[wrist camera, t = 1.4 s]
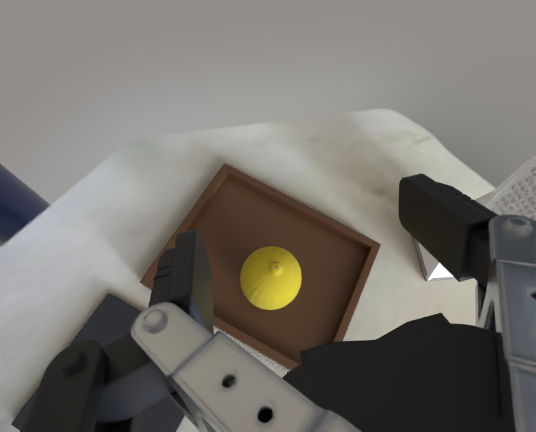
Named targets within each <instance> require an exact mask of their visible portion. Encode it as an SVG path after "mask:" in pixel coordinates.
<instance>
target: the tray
mask: <svg viewBox="0 0 536 432" xmlns="http://www.w3.org/2000/svg"><path fill="white" fill-rule="evenodd" d="M194 229H197V230H198V231H199V234H200V236H201V239H202V242H203V245H204V247H205V250H206V253H207V256H208V258H209V261H210V265H211V269H212V278H213V326H215V327H217V328H218V329H220V330H222V331H223V332H225V333H227V334H229V335H230V336H232V337H234V338H236V339H237V340H239V341H241V342H242V343H244V344H246V345H248V346H249V347H251V348H253V349H254V350H256V351H258V352H260V353H261V354H263V355H265V356H267V357H268V358H270V359H272V360H273V361H275V362H277V363H279V364H280V365H282V366H284V367H285V368H287V369H289V370H292V369H293V368H294V367H296V366H298V365H299V364H301V363H302V361H301V356H300V352H299V351H302V350H306V349H309V348H313V347H317V346H320V345H324V344H328V343H332V342H338V341H343V339H344V337H345V334H346V331H347V329H348V326H349V324H350V321H351V319H352V316H353V314H354V311H355V309H356V306H357V303H358V301H359V298H360V296H361V293H362V291H363V288H364V286H365V283H366V281H367V278H368V275H369V273H370V270H371V268H372V265H373V263H374V260H375V258H376V255H377V253H378V250H379V247H380V244H379V243H377V242H375V241H374V240H372V239H370V238H368V237H366V236H364V235H362V234H360V233H358V232H356V231H354V230H352V229H350V228H348V227H347V226H345V225H343V224H341V223H339V222H337V221H335V220H333V219H331V218H329V217H327V216H325V215H323V214H321V213H320V212H318V211H316V210H314V209H312V208H310V207H308V206H306V205H304V204H302V203H300V202H298V201H296V200H294V199H293V198H291V197H289V196H287V195H285V194H283V193H281V192H279V191H277V190H275V189H273V188H271V187H269V186H267V185H266V184H264V183H262V182H260V181H258V180H256V179H254V178H252V177H250V176H248V175H246V174H244V173H242V172H240V171H239V170H237V169H235V168H233V167H230V166H229V165H227V164H225V163H224V165H223V166H222V168H221V169H220V170H219V172H218V173H217V175H216V176H215V177H214V179H213V180H212V182H211V183H210V184H209V186H208V187H207V189H206V190H205V191H204V193H203V194H202V196H201V197H200V198H199V200H198V201H197V203H196V204H195V205H194V207H193V208H192V210H191V211H190V212H189V214H188V215H187V217H186V218H185V219H184V221H183V222H182V224H181V225H180V226H179V228H178V229H177V231H176V232H175V234H174V235H173V236H172V238H171V239H170V241H169V242H168V243H167V245H166V246H165V248H164V249H163V250H162V252H161V253H160V255H159V256H158V257H157V259H156V260H155V262H154V263H153V264H152V266H151V267H150V269H149V270H148V271H147V273H146V274H145V276H144V277H143V278H142V280H141V281H140V283H142V284H143V285H144V286H146V287H148V288H149V289H151V290H152V288H153V284H154V280H155V275H156V271H157V266H158V261H159V259H160V257H161V256H162V255H163V253H164V252H165V251H166V250H167V249H171V248H175V242H176V236H177V234H178V233H182V232H186V231H190V230H194ZM268 246H276V247H280V248H283V249H285V250H287V251H289V252H290V253H291V254H292V255H293V256H294V257H295V259H296V260H297V262H298V263H299V266H300V269H301V276H302V280H301V286H300V289H299V291H298V294H297V295H296V296H295V298H294V299H293V300H292V301H291V302H290V303H289V304H287V305H286V306H284V307H282V308H279V309H274V310H266V309H261V308H259V307H256V306H255V305H253V304H252V303H251V302H249V300H248V299H247V298H246V297H245V295H244V293H243V291H242V288H241V283H240V275H241V270H242V267H243V264H244V262H245V261H246V260H247V258H248V257H249V256H250V255H251V254H252V253H253V252H255V251H256V250H258V249H260V248H263V247H268Z"/></svg>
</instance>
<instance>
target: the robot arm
mask: <svg viewBox="0 0 536 432" xmlns="http://www.w3.org/2000/svg"><path fill="white" fill-rule="evenodd" d="M399 219H400V222H401V224H402V226H403V227H404V228H405V229H406V230H407V231H408V232H409V233H410V234H411V235H412V236H413V237H414V238H415V239H416V240H417V241H418V242H419V243H420V244H421V245H422V246H423V247H424V248H425V249H426V250H427V251H428V252H429V253H430V254H431V255H432V256H433V257H434V258H435V259H436V260H437V261H438V262H439V263H440V264H441V265H442V266H443V267H444V268H445V269H446V270H447V271H448V272H449V273H450V274H452V275H453V276H454V277H455V278H456V279H457V280H458V281H459V282H461V281H464V280H468V279H472V278H475V279H476V280H477V283H476V289H475V295H476V326H472V325H465V324H450V323H449V321H448V320H447V319H446V318H445V317H444V316H443V314H442V313H439V314H435V315H431V316H428V317H424V318H420V319H417V320H413V321H409V322H406V323H405V324H403V325H401V326H399V327H398V328H396V329H394V330H392V331H391V332H389V333H387V334H385V335H384V336H382V337H380V338H378V339H376V340H365V341H338V342H332V343H328V344H324V345H320V346H317V347H313V348H309V349H306V350H302V351H299V352H300V356H301V361H302V363H301V364H299V365H298V366H296V367H294V368H293V369H292V370H290V371H289V372H288V373H287V374H286V375H285V376H284V377H283V378H281V377H280V376H278V375H277V374H276V373H274V372H273V371H272V370H271V369H269V368H268V367H267V366H265V365H264V364H263V363H262V362H260V361H259V360H258V359H256V358H255V357H254V356H253V355H251V354H250V353H249V352H247V351H246V350H245V349H243V348H242V347H241V346H240V345H238V344H237V343H236V342H234V341H233V340H232V339H231V338H229V337H228V336H227V335H225V334H224V333H222V332H219V331H218V332H217V333H215V334H214V331H213V278H212V269H211V265H210V261H209V258H208V256H207V253H206V250H205V247H204V245H203V242H202V239H201V236H200V234H199V231H198V230H197V229H194V230H190V231H186V232H182V233H178V234H177V236H176V242H175V248H171V249H167V250H166V251H165V252H164V253H163V255H162V256H161V257H160V259H159V261H158V266H157V271H156V275H155V280H154V284H153V288H152V293H151V297H150V302H149V307H148V308H147V309H145V310H144V311H143V312H141V313H140V314H139V315H138V316H137V318H136V319H135V320H134V322H133V324H132V326H131V332H130V333H128V334H127V335H125V336H123V337H122V338H120V339H118V340H116V341H114V342H112V343H110V344H108V345H106V346H104V347H101V346H100V345H99V343H98V342H96V341H94V340H83V341H79V342H77V343H75V344H72V345H71V346H69V347H67V348H66V349H64V350H63V351H62V352H60V353H59V354H58V355H57V356H56V357H55V358H54V359H53V360H52V362H51V363H50V364H49V366H48V368H47V369H46V372H45V374H44V376H43V379H42V381H41V383H40V386H39V388H38V390H37V393H36V395H35V397H34V400H33V402H32V405H31V407H30V409H29V412H28V414H27V416H26V419H25V421H24V423H23V426H22V428H21V431H20V432H139V424H140V415H141V412H142V411H143V410H145V409H147V408H148V407H150V406H152V405H153V404H155V403H157V402H158V401H160V400H162V399H163V398H165V397H167V396H168V395H169V396H170V397H171V398H172V400H173V401H174V402H175V403H176V404H177V406H178V407H179V408H180V409H181V410H182V412H183V413H184V414H185V415H186V416H187V418H188V419H189V420H190V421H191V422H192V424H193V425H194V426H195V427H196V428H197V429H198V431H199V432H536V220H535V219H532V218H529V217H526V216H521V215H512V214H508V215H500V216H499V215H498V214H496V213H494V212H493V211H491V210H489V209H488V208H486V207H485V206H483V205H481V204H480V203H478V202H476V201H475V200H471V198H470V197H468V196H467V195H465V194H463V193H462V192H460V191H459V190H457V189H455V188H454V187H452V186H449V185H445V184H442V183H439V182H435V181H434V180H432V179H431V178H429V177H427V176H426V175H424V174H418V175H413V176H409V177H405V178H402V179H401V180H400V184H399Z"/></svg>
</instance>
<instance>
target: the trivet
mask: <svg viewBox="0 0 536 432" xmlns="http://www.w3.org/2000/svg"><path fill="white" fill-rule="evenodd" d="M140 313H141V312H140V311H139V310H137V309H135V308H134V307H132V306H130V305H128V304H127V303H125V302H123V301H122V300H120V299H118V298H117V297H115V296H113V295H112V294H110V293H109V294H108V295H107V296H106V297H105V299H104V300H103V301H102V303H101V304H100V306H99V307H98V308H97V310H96V311H95V312H94V314H93V315H92V316H91V318H90V319H89V320H88V322H87V323H86V324H85V326H84V327H83V328H82V330H81V331H80V332H79V334H78V335H77V336H76V338H75V339H74V340H73V342H72V343H71V344H70V346H71V345H72V344H75V343H77V342H79V341H83V340H94V341H96V342H98V343H99V345H100V346H101V347H104V346H106V345H108V344H110V343H112V342H114V341H116V340H118V339H120V338H122V337H123V336H125V335H127V334H128V333H130V332H131V326H132V324H133V322H134V320H135V319H136V318H137V316H138V315H139V314H140ZM38 388H39V387H38ZM37 390H38V389H37ZM37 390H36V391H35V393H34V394H33V395H32V397H31V398H30V399H29V401H28V402H27V403H26V405H25V406H24V408H23V409H22V410H21V412H20V413H19V414H18V416H17V417H16V418H15V420H14V421H13V422H12V424H11V425H13V426H14V427H16V428H17V429H19V430H20V431H21V428H22V426H23V423H24V421H25V419H26V416H27V414H28V412H29V409H30V407H31V405H32V402H33V400H34V397H35V395H36V393H37ZM184 416H185V414H184V413H183V412H182V410H181V409H180V408H179V407H178V406H177V404H176V403H175V402H174V401H173V400H172V398H171V397H170V396H169V395H168V396H167V397H165V398H163V399H162V400H160V401H158V402H157V403H155V404H153V405H152V406H150V407H148V408H147V409H145V410H143V411H142V412H141V415H140V424H139V432H176V431H177V429H178V427H179V425H180V423H181V421H182V420H183V418H184Z"/></svg>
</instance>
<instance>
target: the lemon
mask: <svg viewBox="0 0 536 432" xmlns="http://www.w3.org/2000/svg"><path fill="white" fill-rule="evenodd" d="M301 280H302V276H301V269H300V266H299V263H298V262H297V260H296V259H295V257H294V256H293V255H292V254H291V253H290V252H289V251H287V250H285V249H283V248H280V247H276V246H268V247H263V248H260V249H258V250H256V251H255V252H253V253H252V254H251V255H250V256H249V257H248V258H247V260H246V261H245V262H244V264H243V267H242V270H241V275H240V283H241V288H242V291H243V293H244V295H245V297H246V298H247V299H248V300H249V302H251V303H252V304H253V305H255V306H256V307H259V308H261V309H266V310H274V309H279V308H282V307H284V306H286V305H287V304H289V303H290V302H291V301H292V300H293V299H294V298H295V296H296V295H297V294H298V291H299V289H300V286H301Z"/></svg>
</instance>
